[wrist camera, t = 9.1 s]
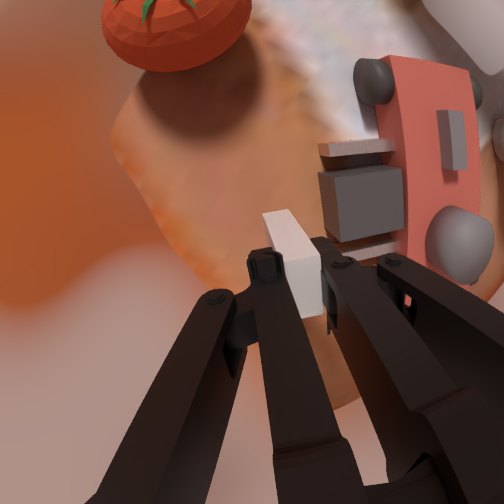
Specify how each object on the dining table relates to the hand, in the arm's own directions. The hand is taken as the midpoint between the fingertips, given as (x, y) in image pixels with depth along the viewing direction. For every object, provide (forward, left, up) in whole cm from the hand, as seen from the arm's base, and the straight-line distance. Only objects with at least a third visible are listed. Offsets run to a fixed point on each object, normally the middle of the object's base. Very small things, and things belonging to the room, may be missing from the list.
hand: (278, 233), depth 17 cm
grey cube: (0, +8, -7) cm, 11 cm away
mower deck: (+1, +16, -7) cm, 18 cm away
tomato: (-16, -4, -7) cm, 18 cm away
